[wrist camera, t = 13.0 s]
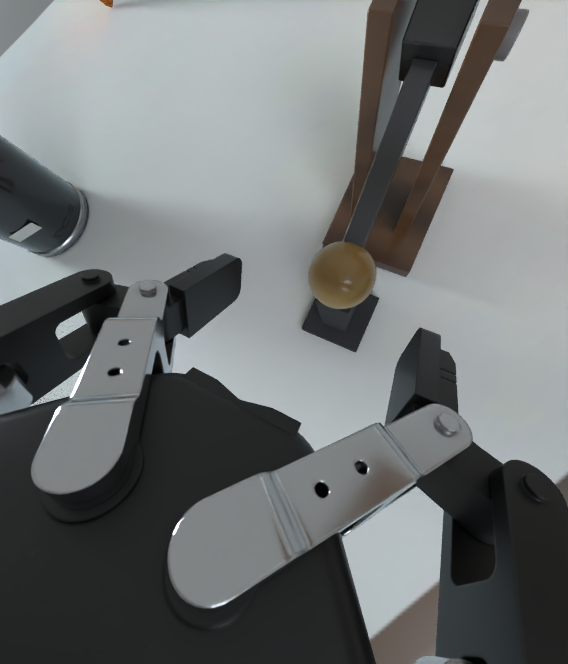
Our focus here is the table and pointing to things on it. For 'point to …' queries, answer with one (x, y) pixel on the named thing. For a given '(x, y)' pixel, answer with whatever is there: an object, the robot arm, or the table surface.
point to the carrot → (108, 2)
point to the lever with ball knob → (392, 147)
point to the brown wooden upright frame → (429, 176)
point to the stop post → (340, 322)
